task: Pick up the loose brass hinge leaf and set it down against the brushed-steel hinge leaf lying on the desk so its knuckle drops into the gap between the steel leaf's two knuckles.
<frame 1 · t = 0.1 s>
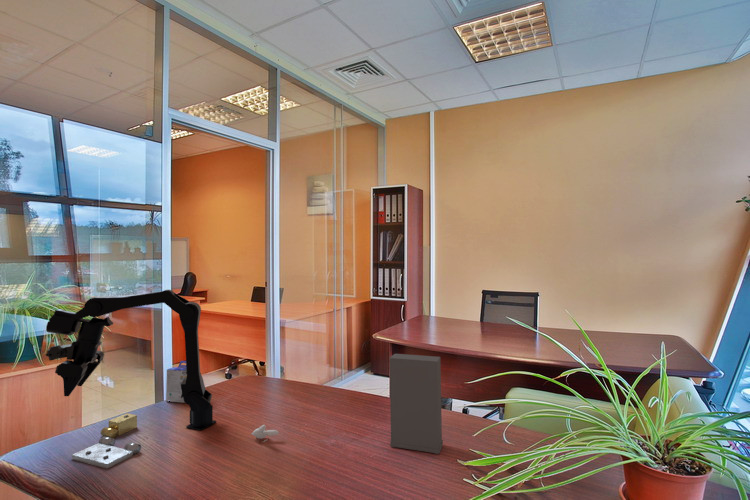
hand: (73, 390, 112), 15 cm above the table, tool pointing down, fingers open, 9 cm apart
brass leaf: (123, 430, 120), on the table
steel leaf: (102, 457, 103), on the table
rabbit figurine: (264, 441, 111), on the table
upright charcoal grey block: (416, 446, 107), on the table
ink cartridge box: (181, 400, 145), on the table
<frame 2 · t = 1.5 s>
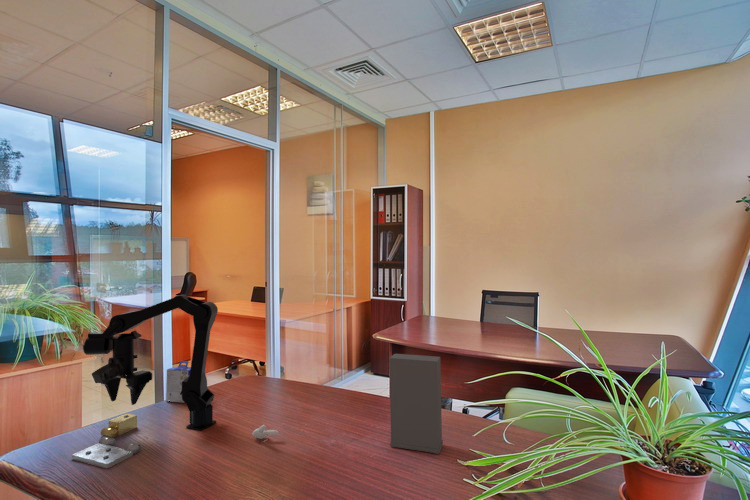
hand: (123, 402, 120), 9 cm above the table, tool pointing down, fingers open, 9 cm apart
nothing on the table moved.
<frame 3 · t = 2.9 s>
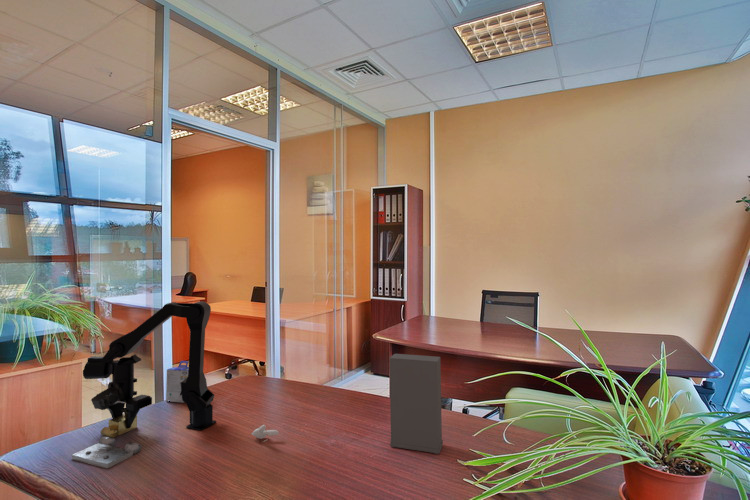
hand: (123, 427, 120), 1 cm above the table, tool pointing down, fingers closed on brass leaf, 4 cm apart
brass leaf: (123, 430, 120), on the table, touching gripper
everything else where it was.
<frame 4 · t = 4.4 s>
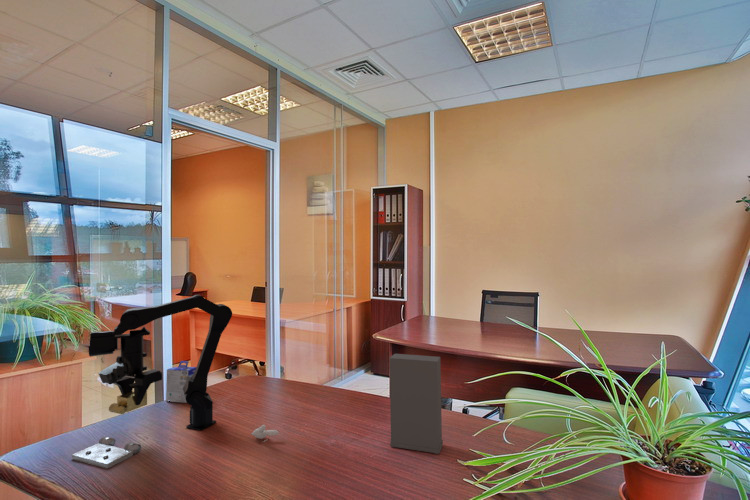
hand: (132, 403, 113), 11 cm above the table, tool pointing down, fingers closed on brass leaf, 4 cm apart
brass leaf: (132, 407, 113), point 10 cm above the table, touching gripper
everything else where it was.
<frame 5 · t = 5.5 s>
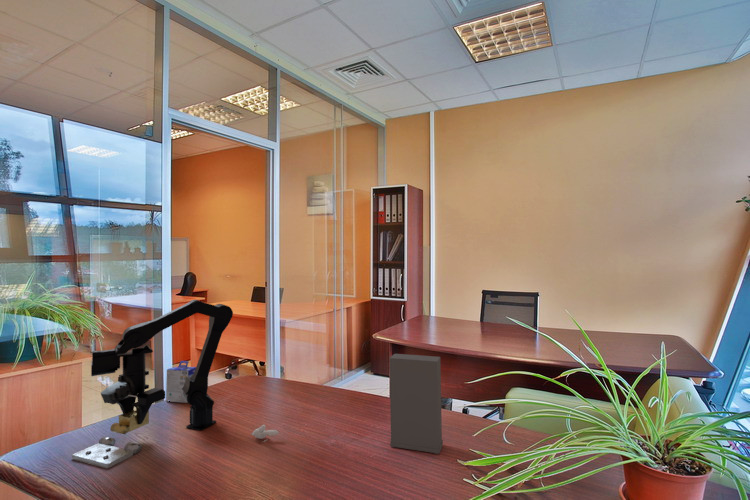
hand: (134, 422, 112), 6 cm above the table, tool pointing down, fingers closed on brass leaf, 4 cm apart
brass leaf: (134, 426, 112), point 5 cm above the table, touching gripper
everything else where it was.
when the fingers open (3 cm above the table, at t = 6.4 s): brass leaf drops 2 cm, on the table.
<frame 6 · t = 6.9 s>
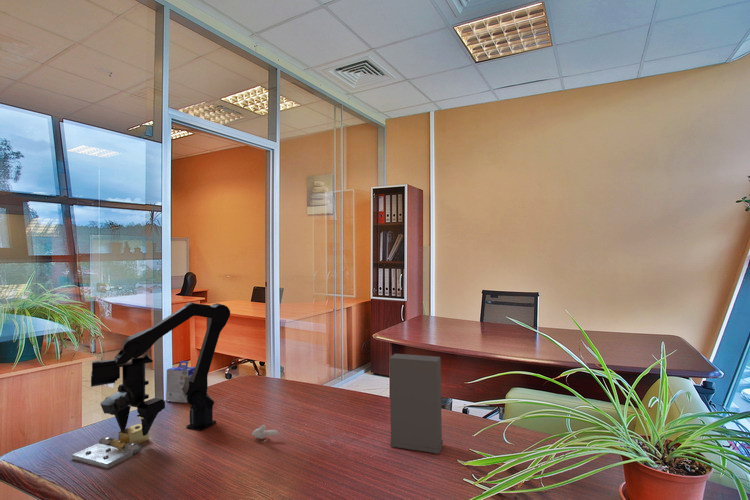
hand: (133, 432, 112), 3 cm above the table, tool pointing down, fingers open, 9 cm apart
brass leaf: (133, 442, 112), on the table
everything else where it was.
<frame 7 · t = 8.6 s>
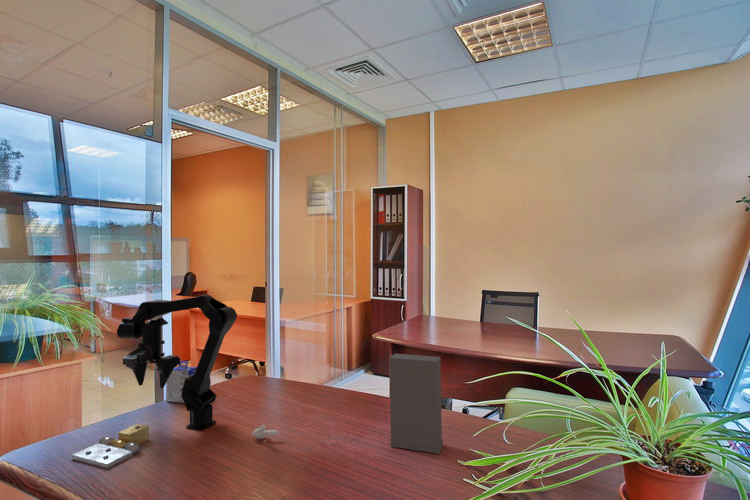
hand: (151, 386, 125), 12 cm above the table, tool pointing down, fingers open, 9 cm apart
nothing on the table moved.
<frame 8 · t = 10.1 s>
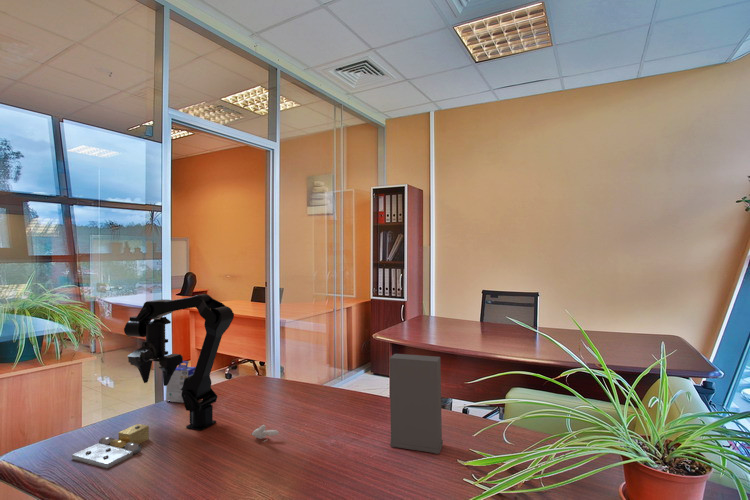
hand: (155, 384, 127), 12 cm above the table, tool pointing down, fingers open, 9 cm apart
nothing on the table moved.
at the end: brass leaf 0.1 cm from the target spot on the table beside the steel leaf, on the table; brass leaf tilted 0°; the gripper is holding nothing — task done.
